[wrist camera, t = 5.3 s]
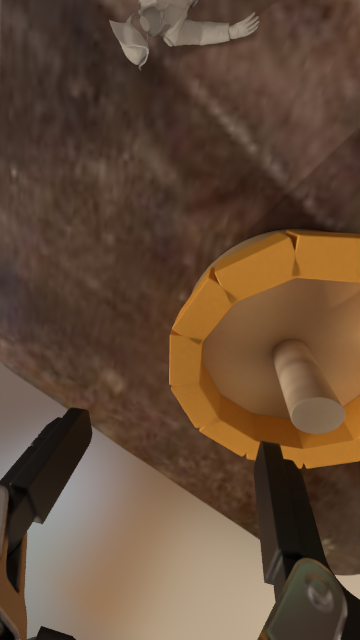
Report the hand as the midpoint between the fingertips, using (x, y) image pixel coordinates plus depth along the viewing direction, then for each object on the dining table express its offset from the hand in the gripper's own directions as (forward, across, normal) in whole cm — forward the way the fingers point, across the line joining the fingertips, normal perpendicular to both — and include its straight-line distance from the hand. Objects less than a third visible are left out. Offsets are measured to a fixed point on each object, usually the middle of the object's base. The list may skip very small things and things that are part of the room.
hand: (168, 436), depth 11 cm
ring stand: (+13, -7, 0) cm, 15 cm away
